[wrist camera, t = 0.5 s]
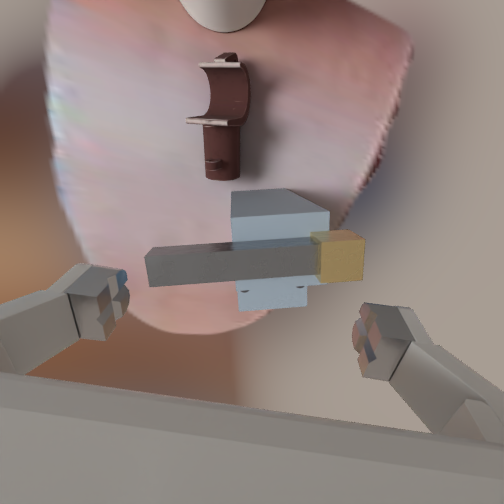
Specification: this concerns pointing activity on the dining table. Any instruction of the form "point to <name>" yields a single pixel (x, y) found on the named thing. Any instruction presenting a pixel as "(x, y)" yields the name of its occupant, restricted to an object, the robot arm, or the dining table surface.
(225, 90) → the bracket
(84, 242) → the dining table surface
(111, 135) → the dining table surface
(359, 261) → the bar
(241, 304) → the stepped stand
